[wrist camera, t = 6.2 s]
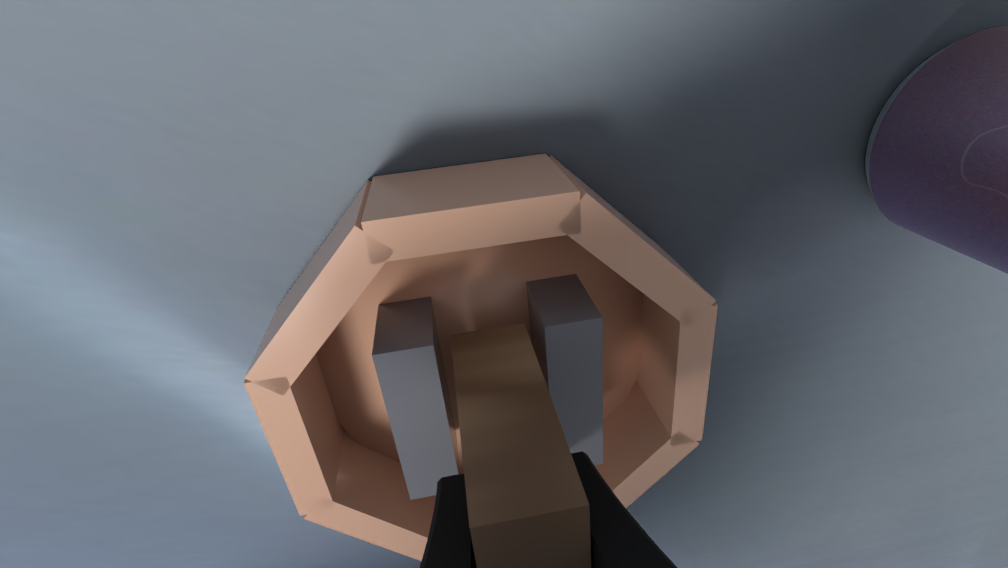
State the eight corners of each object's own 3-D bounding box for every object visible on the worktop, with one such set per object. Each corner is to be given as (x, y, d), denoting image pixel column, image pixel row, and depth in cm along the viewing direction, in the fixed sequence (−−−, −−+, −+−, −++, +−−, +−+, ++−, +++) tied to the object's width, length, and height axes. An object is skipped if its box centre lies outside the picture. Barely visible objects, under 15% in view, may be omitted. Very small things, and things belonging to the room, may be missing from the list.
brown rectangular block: (471, 459, 16) (497, 679, 10) (450, 334, 14) (469, 527, 8) (535, 447, 16) (593, 658, 11) (524, 322, 14) (589, 504, 9)
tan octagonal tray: (345, 499, 19) (332, 591, 16) (236, 194, 14) (185, 246, 11) (651, 442, 20) (692, 518, 17) (668, 136, 15) (734, 169, 12)
